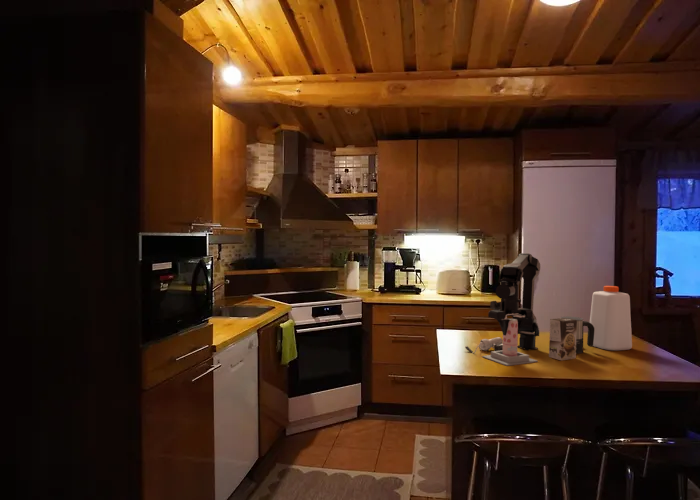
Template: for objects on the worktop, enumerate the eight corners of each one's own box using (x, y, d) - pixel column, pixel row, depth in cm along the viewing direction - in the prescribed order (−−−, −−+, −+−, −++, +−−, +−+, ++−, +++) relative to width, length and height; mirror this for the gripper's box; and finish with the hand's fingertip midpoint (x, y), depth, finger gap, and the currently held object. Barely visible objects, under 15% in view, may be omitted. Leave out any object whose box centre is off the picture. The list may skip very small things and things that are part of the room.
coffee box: (561, 360, 188) (562, 321, 187) (548, 357, 193) (549, 318, 193) (576, 358, 192) (577, 319, 191) (563, 354, 198) (564, 317, 197)
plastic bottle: (608, 342, 223) (610, 284, 222) (636, 349, 209) (638, 287, 208) (583, 344, 218) (585, 284, 218) (610, 351, 204) (612, 288, 203)
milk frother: (568, 354, 199) (569, 320, 198) (545, 345, 214) (546, 313, 214) (597, 353, 201) (598, 319, 201) (573, 344, 217) (574, 313, 216)
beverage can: (507, 358, 185) (508, 321, 185) (499, 354, 191) (500, 318, 190) (520, 357, 187) (521, 320, 186) (511, 354, 192) (512, 318, 192)
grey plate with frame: (511, 353, 198) (512, 347, 198) (537, 361, 185) (537, 355, 185) (482, 357, 192) (482, 351, 191) (506, 366, 179) (507, 359, 179)
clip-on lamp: (476, 363, 193) (514, 352, 197) (474, 349, 192) (512, 338, 196) (463, 353, 205) (500, 343, 208) (461, 340, 204) (498, 330, 207)
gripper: (514, 293, 199) (513, 329, 200) (479, 294, 191) (478, 332, 192) (534, 296, 189) (533, 334, 189) (498, 298, 181) (497, 338, 182)
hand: (510, 334), depth 188 cm, fingers closed on beverage can, 6 cm apart
